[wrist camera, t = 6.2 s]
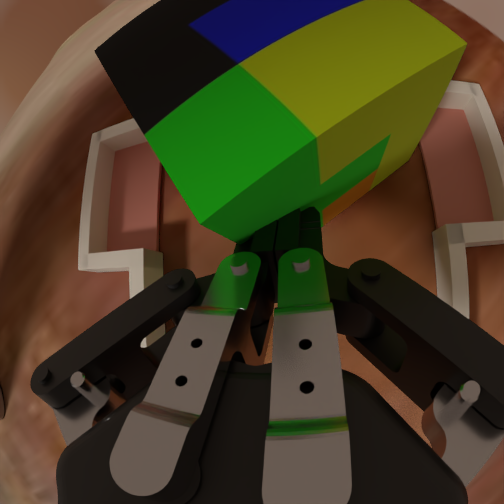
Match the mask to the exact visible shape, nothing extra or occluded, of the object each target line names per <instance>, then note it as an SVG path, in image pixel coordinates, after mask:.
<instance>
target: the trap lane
mask: <svg viewBox="0 0 504 504" xmlns="http://www.w3.org/2000/svg"><path fill="white" fill-rule="evenodd" d="M419 146H420V149H421V153H422V157H423V162H424V166H425V170H426V175H427V179H428V184H429V189H430V194H431V200H432V206H433V212H434V218H435V225H436V230H435V231H433V232H432V237H433V245H434V255H435V266H436V280H437V297H438V298H440V299H441V300H443V301H444V302H445V303H447V304H448V305H450V306H451V307H453V308H454V309H455V310H457V311H458V312H460V313H461V314H462V315H464V316H465V317H467V318H468V319H469V286H468V270H467V259H466V249H465V247H474V246H485V245H496V244H504V145H503V142H502V139H501V136H500V133H499V131H498V128H497V125H496V123H495V120H494V117H493V115H492V112H491V110H490V107H489V105H488V103H487V100H486V98H485V96H484V94H483V91H482V89H481V87H480V85H479V84H476V83H469V82H461V81H453V80H451V81H450V83H449V85H448V87H447V90H446V92H445V94H444V96H443V98H442V100H441V102H440V104H439V106H438V108H437V109H436V111H435V113H434V115H433V117H432V119H431V121H430V123H429V125H428V127H427V128H426V130H425V132H424V134H423V136H422V138H421V139H420V141H419ZM161 170H162V164H161V162H160V160H159V159H158V157H157V155H156V154H155V152H154V151H153V149H152V147H151V146H150V144H149V143H148V141H147V139H146V138H145V136H144V134H143V133H142V131H141V129H140V128H139V126H138V124H137V123H136V121H135V119H134V118H133V119H130V120H127V121H124V122H121V123H119V124H116V125H113V126H111V127H108V128H105V129H103V130H100V131H98V132H95V133H93V134H92V138H91V144H90V149H89V155H88V161H87V167H86V174H85V181H84V189H83V198H82V208H81V219H80V233H79V254H78V270H83V271H93V272H114V271H129V281H130V299H131V298H132V297H134V296H135V295H136V294H138V293H139V292H141V291H142V290H144V289H145V288H146V287H148V286H149V285H151V284H152V283H154V282H155V281H157V280H158V279H159V278H161V277H162V276H163V253H162V252H159V212H160V188H161ZM164 334H165V323H164V324H163V325H161V326H160V327H159V328H157V329H156V330H155V331H153V332H152V333H151V334H149V335H148V336H147V337H145V338H144V339H143V341H142V342H141V347H143V348H144V347H148V346H150V345H151V344H152V343H154V342H155V341H156V340H158V339H159V338H160V337H162V336H163V335H164Z"/></svg>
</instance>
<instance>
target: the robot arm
mask: <svg viewBox="0 0 504 504" xmlns="http://www.w3.org/2000/svg"><path fill="white" fill-rule="evenodd" d="M274 303H278V307H277V308H275V309H274ZM273 309H274V317H273ZM170 319H172V321H173V323H174V324H175V327H174V328H173V329H171V330H170V331H169V332H167V333H166V334H164V335H163V336H162V337H160V338H159V339H158V340H156V341H155V342H154V343H152V344H151V345H150V346H148V347H144V348H143V347H141V342H142V341H143V339H144V338H145V337H147V336H148V335H149V334H151V333H152V332H153V331H155V330H156V329H157V328H159V327H160V326H161V325H163V324H164V323H166V322H167V321H168V320H170ZM273 321H274V326H273ZM272 326H273V353H272V363H268V364H264V360H265V356H266V352H267V348H268V343H269V339H270V335H271V330H272ZM337 333H339V334H343V335H346V339H347V340H348V342H349V343H350V344H351V345H352V346H353V347H354V348H356V349H357V350H358V351H359V352H360V353H361V354H362V355H363V356H364V357H365V358H366V359H368V360H369V361H370V362H371V363H372V364H373V365H374V366H375V367H376V368H377V369H378V370H379V371H381V372H382V373H383V374H384V375H385V376H386V377H387V378H388V379H389V380H390V381H391V382H393V383H394V384H395V385H396V386H397V387H398V388H399V389H400V390H401V391H402V392H403V393H404V394H406V395H407V396H408V397H409V398H410V399H411V400H412V401H413V402H414V403H415V404H416V405H418V406H419V407H420V408H421V409H422V410H423V411H424V413H423V416H422V422H421V424H422V430H423V432H424V434H425V436H426V437H427V438H428V440H429V441H430V443H431V446H432V448H431V447H430V446H429V445H428V444H427V443H426V442H425V441H424V440H423V439H422V438H421V437H420V436H419V435H418V434H417V433H416V432H415V431H414V430H413V429H412V428H411V427H410V426H409V424H408V423H407V422H406V421H405V420H404V419H403V418H402V417H401V416H400V415H399V414H398V413H397V412H396V411H395V410H394V409H393V408H392V407H391V406H390V405H389V404H388V403H387V402H386V401H385V399H384V398H383V397H382V396H381V395H380V394H379V393H378V392H377V391H376V390H375V389H374V388H373V387H372V386H371V385H370V384H369V383H367V382H366V381H365V380H364V379H362V378H360V377H359V376H357V375H355V374H353V373H351V372H348V371H346V370H342V369H341V362H340V353H339V346H338V338H337ZM31 389H32V391H33V392H34V393H35V394H36V395H37V396H39V397H40V398H41V399H42V400H44V401H45V402H46V403H47V404H48V405H49V406H50V407H51V408H52V409H53V410H54V413H55V416H56V419H57V421H58V424H59V427H60V429H61V432H62V435H63V437H64V440H65V442H66V445H67V447H66V448H65V450H64V451H63V453H62V454H61V456H60V458H59V461H58V464H57V469H56V481H57V489H58V504H468V496H467V491H466V488H465V487H466V486H467V485H468V484H469V483H470V481H471V480H472V479H473V478H474V477H475V475H476V474H477V473H478V472H479V470H480V469H481V468H482V467H483V465H484V464H485V463H486V461H487V460H488V459H489V457H490V456H491V455H492V453H493V452H494V451H495V449H496V448H497V446H498V445H499V443H500V442H501V440H502V439H503V437H504V345H502V344H501V343H500V342H499V341H497V340H496V339H495V338H493V337H492V336H491V335H489V334H488V333H487V332H485V331H484V330H483V329H481V328H480V327H479V326H477V325H476V324H475V323H473V322H472V321H471V320H469V319H468V318H467V317H465V316H464V315H462V314H461V313H460V312H458V311H457V310H455V309H454V308H453V307H451V306H450V305H448V304H447V303H445V302H444V301H443V300H441V299H440V298H438V297H437V296H435V295H434V294H432V293H431V292H430V291H428V290H427V289H425V288H424V287H422V286H421V285H419V284H418V283H416V282H415V281H413V280H412V279H410V278H409V277H407V276H406V275H404V274H403V273H401V272H400V271H398V270H397V269H395V268H393V267H392V266H390V265H389V264H387V263H386V262H384V261H381V260H378V259H372V258H368V259H362V260H359V261H356V262H355V263H353V264H352V265H351V266H350V268H349V269H347V268H342V267H338V266H335V265H333V264H331V263H329V262H328V261H327V260H326V259H325V257H324V255H323V246H322V232H321V220H320V212H319V211H318V210H317V209H316V208H315V207H309V208H307V209H305V210H303V211H300V208H298V209H296V210H294V211H292V212H290V213H288V214H286V215H285V216H283V217H281V218H279V221H278V220H275V221H273V222H272V223H270V224H268V225H266V226H264V227H262V228H260V229H258V230H257V231H255V233H254V237H253V238H251V239H250V240H248V241H246V242H244V243H242V244H241V245H239V244H238V243H237V244H236V247H235V250H234V253H233V254H232V255H230V256H228V257H226V258H225V259H224V260H223V261H222V262H221V263H220V265H219V267H218V269H217V271H216V273H215V274H212V275H208V276H205V277H201V278H197V279H196V277H195V275H194V273H193V272H192V271H190V270H188V269H177V270H173V271H171V272H169V273H167V274H165V275H164V276H162V277H161V278H159V279H158V280H157V281H155V282H154V283H152V284H151V285H149V286H148V287H146V288H145V289H144V290H142V291H141V292H139V293H138V294H136V295H135V296H134V297H132V298H131V299H129V300H128V301H126V302H125V303H124V304H122V305H121V306H119V307H118V308H116V309H115V310H114V311H112V312H111V313H109V314H108V315H107V316H105V317H104V318H102V319H101V320H100V321H98V322H97V323H95V324H94V325H93V326H91V327H90V328H89V329H87V330H86V331H84V332H83V333H82V334H80V335H79V336H78V337H76V338H75V339H73V340H72V341H71V342H69V343H68V344H67V345H65V346H64V347H63V348H61V349H60V350H58V351H57V352H56V353H54V354H53V355H52V356H50V357H49V358H48V359H46V360H45V361H44V362H42V363H41V364H40V365H39V366H38V367H37V368H36V369H35V371H34V373H33V375H32V378H31ZM3 417H4V402H3V396H2V392H1V388H0V420H1V419H3Z"/></svg>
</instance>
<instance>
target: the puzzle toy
mask: <svg viewBox="0 0 504 504" xmlns="http://www.w3.org/2000/svg"><path fill="white" fill-rule="evenodd" d="M466 46H467V43H466V42H465V41H464V40H463V39H462V38H460V37H459V36H458V35H457V34H455V33H454V32H453V31H452V30H450V29H449V28H448V27H446V26H445V25H444V24H442V23H441V22H440V21H438V20H437V19H436V18H434V17H433V16H431V15H430V14H428V13H427V12H425V11H424V10H422V9H421V8H419V7H418V6H416V5H415V4H413V3H412V2H410V1H408V0H160V1H159V2H157V3H156V4H154V5H153V6H151V7H150V8H148V9H147V10H145V11H144V12H142V13H141V14H140V15H138V16H137V17H135V18H134V19H133V20H131V21H130V22H129V23H127V24H126V25H125V26H123V27H122V28H121V29H120V30H118V31H117V32H116V33H115V34H113V35H112V36H111V37H110V38H109V39H107V40H106V41H105V42H104V43H103V44H102V45H100V46H99V47H98V48H97V49H96V50H95V53H96V55H97V57H98V58H99V60H100V62H101V64H102V65H103V67H104V69H105V70H106V72H107V74H108V76H109V77H110V79H111V81H112V82H113V84H114V86H115V88H116V89H117V91H118V93H119V94H120V96H121V98H122V99H123V101H124V103H125V104H126V106H127V108H128V110H129V111H130V113H131V115H132V116H133V118H134V119H135V121H136V123H137V124H138V126H139V128H140V129H141V131H142V133H143V134H144V136H145V138H146V139H147V141H148V143H149V144H150V146H151V147H152V149H153V151H154V152H155V154H156V155H157V157H158V159H159V160H160V162H161V164H162V165H163V167H164V168H165V170H166V172H167V173H168V175H169V176H170V178H171V180H172V181H173V183H174V184H175V186H176V187H177V189H178V191H179V192H180V194H181V195H182V197H183V198H184V200H185V202H186V203H187V205H188V206H189V208H190V209H191V211H192V213H193V214H194V216H195V217H196V219H197V220H198V222H199V223H200V224H201V225H203V226H204V227H206V228H208V229H210V230H212V231H214V232H216V233H218V234H220V235H222V236H224V237H226V238H228V239H230V240H232V241H234V242H236V243H238V244H239V245H241V244H242V243H244V242H246V241H248V240H250V239H251V238H253V237H254V233H255V231H257V230H258V229H260V228H262V227H264V226H266V225H268V224H270V223H272V222H273V221H275V220H278V221H279V218H281V217H283V216H285V215H286V214H288V213H290V212H292V211H294V210H296V209H298V208H300V211H303V210H305V209H307V208H309V207H315V208H316V209H317V210H318V211H319V212H320V220H321V227H322V226H324V225H325V224H326V223H328V222H329V221H330V220H332V219H333V218H334V217H336V216H337V215H338V214H340V213H341V212H342V211H344V210H345V209H346V208H348V207H349V206H350V205H352V204H353V203H354V202H355V201H357V200H358V199H359V198H361V197H362V196H363V195H365V194H366V193H367V192H369V191H370V190H371V189H372V188H374V187H375V186H376V185H378V184H379V183H380V182H382V181H383V180H384V179H385V178H387V177H388V176H389V175H391V174H392V173H393V172H394V171H396V170H397V169H398V168H400V167H401V166H402V165H403V164H405V163H406V162H407V161H408V160H409V159H410V157H411V155H412V154H413V152H414V150H415V148H416V147H417V145H418V143H419V141H420V139H421V138H422V136H423V134H424V132H425V130H426V128H427V127H428V125H429V123H430V121H431V119H432V117H433V115H434V113H435V111H436V109H437V108H438V106H439V104H440V102H441V100H442V98H443V96H444V94H445V92H446V90H447V87H448V85H449V83H450V81H451V79H452V77H453V75H454V73H455V71H456V68H457V66H458V64H459V62H460V60H461V57H462V55H463V53H464V50H465V48H466Z"/></svg>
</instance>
